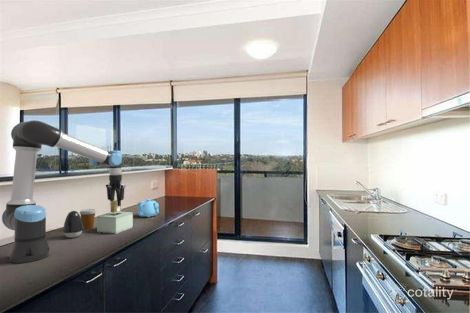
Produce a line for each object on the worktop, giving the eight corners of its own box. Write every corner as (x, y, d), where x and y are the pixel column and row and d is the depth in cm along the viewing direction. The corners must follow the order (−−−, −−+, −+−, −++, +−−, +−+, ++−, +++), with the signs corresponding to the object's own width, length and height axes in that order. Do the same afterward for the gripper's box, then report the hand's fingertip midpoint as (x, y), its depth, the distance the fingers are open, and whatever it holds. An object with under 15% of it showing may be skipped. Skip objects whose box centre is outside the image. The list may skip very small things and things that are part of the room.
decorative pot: (159, 217, 213) (159, 200, 213) (137, 219, 208) (137, 201, 208) (157, 213, 228) (157, 197, 229) (137, 214, 223) (137, 198, 223)
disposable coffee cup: (94, 229, 177) (94, 211, 177) (77, 230, 174) (77, 211, 175) (97, 226, 186) (97, 208, 186) (81, 227, 184) (81, 209, 184)
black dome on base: (60, 240, 155) (60, 213, 155) (66, 235, 165) (66, 209, 165) (80, 238, 157) (80, 212, 158) (85, 233, 167) (85, 208, 168)
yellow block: (114, 212, 174) (114, 201, 174) (110, 212, 175) (110, 201, 175) (121, 210, 180) (120, 200, 179) (117, 210, 180) (117, 199, 180)
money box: (116, 233, 167) (115, 217, 167) (97, 232, 171) (97, 216, 171) (132, 227, 182) (132, 212, 182) (115, 226, 186) (115, 211, 186)
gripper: (129, 174, 178) (130, 210, 178) (109, 174, 183) (109, 209, 183) (122, 175, 171) (122, 212, 171) (100, 174, 176) (101, 211, 175)
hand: (115, 210), depth 177 cm, fingers closed on yellow block, 3 cm apart
